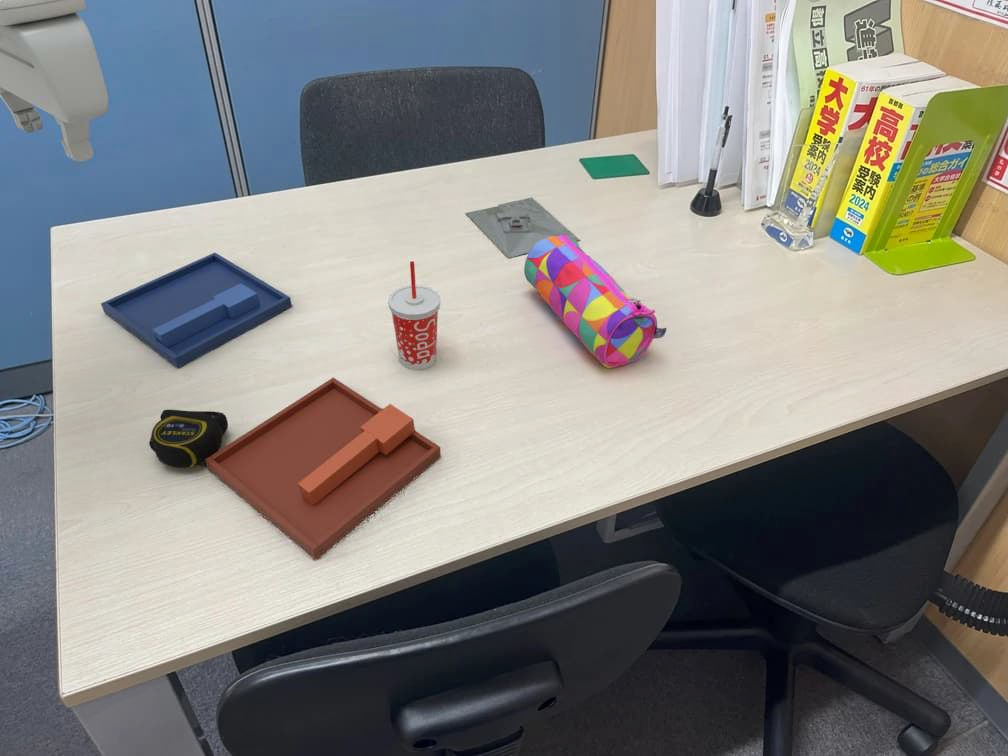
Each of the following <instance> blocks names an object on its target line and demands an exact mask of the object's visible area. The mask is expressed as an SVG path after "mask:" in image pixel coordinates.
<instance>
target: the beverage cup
mask: <svg viewBox="0 0 1008 756" xmlns="http://www.w3.org/2000/svg"><path fill="white" fill-rule="evenodd" d="M409 268H410V284H408V285H404V286H400V287H397V288H396V289H394V290H393V291H392V292H391V293H390V294H389V295H388V300H387V304H388V308H389V311H390V313H391V317H392V323H393V329H394V335H395V340H396V341H395V342H396V348H397V354H398V360H399V362H400V364H401V365H402V366H403V367H405V368H406V369H409V370H414V371H415V370H416V371H421V370H426V369H428V368H430V367H432V366H433V365H434V364H435V362H436V360H437V342H438V320H439V319H438V318H439V317H438V316H439V313H438V312H439V310H440V309H441V296H440V294H439V292H438V291H437V290H436V289H434V288H432V287H430V286H428V285H423V284H416V271H415V269H416V268H415V261H412V260H411V261H409Z"/></svg>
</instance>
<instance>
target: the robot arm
mask: <svg viewBox="0 0 1008 756" xmlns="http://www.w3.org/2000/svg"><path fill="white" fill-rule="evenodd" d="M86 9H87V5H86V1H85V0H0V99H1V101H2V103H4V105H5V106H6V107H7V109H8V110H9V112H10V113H11V116H12V118H13V120H14V123H15V126H16V127H17V128H18V129H20V130H22V131H24V132H26V133H34V132H37V131H40V130H42V129H43V127H44V124H43V122H42V119H41V116H40V113H39V111H38V109H36V108H39V109H40V110H42V111H44V112H45V113H46V114H47V113H48V114H49V115H51V116H52V117H54V120H55V122H56V124H57V125H58V126H60V129H61V134H62V138H61V139H60V142H61V145H62V147H63V149H64V153H65V155H66V156H67V157H68V158H70V159H71V160H73V161H75V162H77V163H82V162H86V161H89V160H92V159H93V157H94V156H95V151H94V148H93V146H92V144H91V140H90V121H91V120H94V119H97V118H101V117H103V116H105V115H107V113H108V108H109V103H110V102H109V101H110V100H109V93H108V89H107V84H106V82H105V78H104V74H103V70H102V68H101V64H100V60H99V57H98V53H97V51H96V50H97V49H96V48H95V44H94V42H93V38H92V35H91V33H90V31H89V28H88V26H87V25H86V23H85V21H84V20H83V18H82V17H81V16H80V15H79V14H78V13H80V12H84V11H85V10H86ZM34 106H35V107H36V108H35V107H34Z"/></svg>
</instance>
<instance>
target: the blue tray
mask: <svg viewBox="0 0 1008 756" xmlns="http://www.w3.org/2000/svg"><path fill="white" fill-rule="evenodd" d="M239 284H243V285H245V286H246V287H248V288H249V289H251V290H253V291H254V292H256V293H257V295H258V299H259V303H260V306H258V307H256V308H254V309H252V310H250V311H248V312H246V313H244V314H242V315H240V316H238V317H236V318H234V319H230V318H229V317H227V318H225V319H223V320H221V321H219V322H217V323H215V324H213V325H211V326H209V327H207V328H205V329H203V330H202V331H200V332H198V333H196V334H194V335H192V336H190V337H188V338H186V339H184V340H182V341H180V342H178V343H176V344H174V345H172V346H170V347H168V348H167V347H166V346H164V345H163V344H161V343H160V342H159V341H157V340H156V338H155V335H154V333H153V329H155V328H157V327H159V326H161V325H163V324H165V323H167V322H169V321H171V320H173V319H175V318H177V317H179V316H181V315H183V314H185V313H187V312H189V311H191V310H194V309H196V308H198V307H200V306H202V305H204V304H206V303H208V302H210V301H212V300H213V297H214V296H216V295H218V294H220V293H222V292H224V291H226V290H228V289H230V288H232V287H234V286H236V285H239ZM100 305H101V307H102V310H103V312H104V314H105V315H106V316H107V317H109V318H110V319H112V320H113V321H115V322H116V323H117V324H118V325H120V326H121V327H123V328H124V329H125V330H126V331H127V332H129V333H130V334H132V335H133V336H135V337H136V338H137V339H138V340H139V341H141V342H142V343H144V344H145V345H146V346H148V347H149V348H150V349H151V350H153V351H154V352H155V353H157V354H158V355H159V356H161V357H162V358H164V359H165V360H166V361H168V362H169V363H170V364H172V365H173V366H174V367H176V368H177V369H179V368H182V367H184V366H185V365H187V364H189V363H191V362H192V361H194V360H196V359H198V358H199V357H201V356H204V355H205V354H207V353H210V352H211V351H213V350H215V349H217V348H219V347H220V346H222V345H225V344H226V343H228V342H230V341H231V340H233V339H235V338H237V337H239V336H241V335H243V334H245V333H247V332H248V331H250V330H252V329H254V328H256V327H258V326H259V325H261V324H263V323H265V322H266V321H268V320H271V319H272V318H274V317H276V316H278V315H280V314H282V313H283V312H285V311H287V310H289V309H291V308H292V307H293V304H292V300H291V297H290V296H289V295H287V294H285V293H284V292H282V291H281V290H279V289H277V288H275V287H274V286H272V285H270V284H269V283H267V282H265V281H264V280H262V279H260V278H258V277H257V276H255V275H254V274H252V273H250V272H249V271H247V270H245V269H244V268H242V267H241V266H239V265H237V264H235V263H233V262H232V261H230V260H229V259H227V258H225V257H224V256H222V255H220V254H218V253H217V252H213V253H210V254H208V255H206V256H204V257H202V258H198V259H197V260H195V261H193V262H190V263H188V264H186V265H183V266H181V267H179V268H177V269H175V270H173V271H170V272H168V273H166V274H163V275H161V276H159V277H157V278H154V279H152V280H150V281H147V282H145V283H143V284H141V285H139V286H137V287H134V288H132V289H130V290H127V291H126V292H125V291H124V292H123V293H121V294H118V295H117V296H114V297H112V298H109V299H107V300H105V301H103V302H101V303H100Z"/></svg>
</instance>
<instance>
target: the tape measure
mask: <svg viewBox="0 0 1008 756" xmlns="http://www.w3.org/2000/svg"><path fill="white" fill-rule="evenodd" d="M159 416H160V420H159V421H158V422H157V423H156V424H154V426H153V428H152V431H151V436H150V439H149V441H148V444H149V448H150V449H151V450H152V452H154V453H155V455H156V457H157V459H158V461H159V462H161V463H162V464H163V465H165V466H167V467H170V468H175V469H188V468H192V467H193V468H195V467H198V466H200V465H202V464H206V461H205V459H207V458H208V457H210V456H211V455H213V454H214V453H216V452H217V451H219V450H221V447H222V444H223V437H224V435H225V434H226V432H227V431H228V428H229V423H228V417H227V415H226V414H224V412H220V411H211V410H208V411H207V410H206V411H204V410H203V411H201V410H200V411H199V410H198V411H197V410H183V409H182V410H181V409H164V410H163V411H162V412H161V414H160V415H159Z"/></svg>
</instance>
